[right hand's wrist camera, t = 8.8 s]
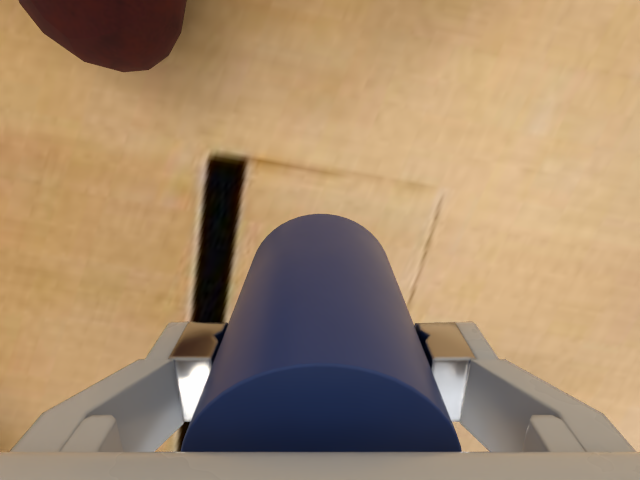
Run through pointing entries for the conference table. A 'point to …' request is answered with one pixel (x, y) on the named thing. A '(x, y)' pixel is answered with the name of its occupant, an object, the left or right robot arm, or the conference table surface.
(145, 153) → the conference table surface
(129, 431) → the right robot arm
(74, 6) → the dark red oval ball
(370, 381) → the can
